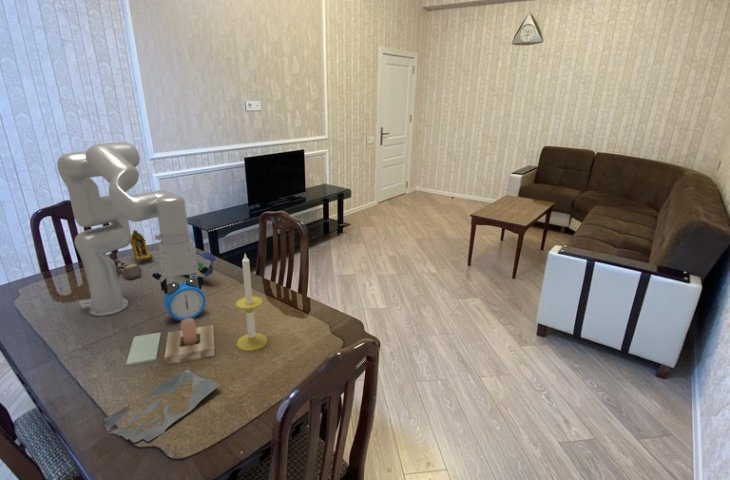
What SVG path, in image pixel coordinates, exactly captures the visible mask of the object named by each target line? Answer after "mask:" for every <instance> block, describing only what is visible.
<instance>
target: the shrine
mask: <svg viewBox="0 0 730 480" xmlns="http://www.w3.org/2000/svg"><path fill="white" fill-rule="evenodd" d="M130 246H131V248H132V252H133V254H134V256H135V257H134V258H135V262H138V261H139V262H140V261H146V260H152V259H154V256H153V255H152V254H150V253H149V250H148V247H147V243H146V239H145V238H144V235H142V234H141V233H140V232H138V230H135V229H133V230H132V233H131V242H130Z"/></svg>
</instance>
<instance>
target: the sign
mask: <svg viewBox="0 0 730 480" xmlns="http://www.w3.org/2000/svg"><path fill="white" fill-rule="evenodd" d="M196 254H197V257H201V258H204V259H207V260H210V261H211V264H210V266H209V268H208V271H207V272H206V273H205V274H204V275H203V279H204V278H205V277H209V276H211V275H213V273H214V267H213V263H214V262H215V261H216V260H217V259H216V258H215V256H214V255H213V254H212V253H210V252H207V251H204V252H198V251H196ZM204 266H205V264H203V263H200V262H198V267H199V268H200V269H202V268H203V267H204ZM186 276H189V277H188V278H196V279H197V280H198V275H197V274H196V273H193V274H187V275H186Z"/></svg>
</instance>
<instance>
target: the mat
mask: <svg viewBox="0 0 730 480" xmlns="http://www.w3.org/2000/svg"><path fill="white" fill-rule="evenodd" d="M161 336H162V333H161V332H156V333H155V332H154V333H148V334H141V335H136V336H134V337H133V339H132V343H131V345H130V349H129V353H128V357H127V360H126V363H125V364H126V367H128V366H133V365H140V364H144V363H149V362H150V363H151V362H155V361H157V358H158V352H159V346H160V341H161Z"/></svg>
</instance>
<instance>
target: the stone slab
mask: <svg viewBox="0 0 730 480" xmlns="http://www.w3.org/2000/svg"><path fill="white" fill-rule="evenodd" d="M189 381H192V384H191V390H192V392H191V396H190V399H189V401H188V404H189V407H188V409H187V410H185V411H184V412H181V413H172V412H171V408H172V407H171V404H172V403H171V402H169V403H167V404H166V406H165V407H163V416H164V422H162V421H161V419H162V416H161V415H159V416H158V417H156V418H154V419H152V420H151V421H149V423H148V424H146V425H143V426H139V427H136V428H134V429H127V428H123V427H124V426H125V424H123V425H121V426H120V427H118V428H115V429H114V430H112V431H110V430H111V428H112V427H113V426H114V425H116V424H117V423H118V422H120V421H123V419H124V417H125V416H126V415H127V413H128V411H130V410H131V408H130V406H133V405H134V404H137V403H138V402H134V403H132V404H129V405H126V407H124V408H122V409H119V410H118V411H115V412H114V413H112V414H110V415H109V416H106V418H104V419H103V423H102V426H103V427H104V428H105V429H106V430H107V432H109V433H110V434H114V435H117V436H118V437H123V438H124V439H125V440H130V441H131V442H132V443H138V442H140V441H141V440H144V441H146V442H150V441H152V440H153V439H155V438H157V437H158V436H161V435H163V433H165V431H166V429H168V428H169V427H170V426H171V425H173V424H174V423H175V422H176V421H178V420H179V419H181V418H182V417H184V416H185V415H187V414H188V413H190V412H192V410H193V409H195V408H196V407H197V405H198V404H199V403H200V402H201V401H202V400H204V399H205V398H206V397H207V396H208V395H209V394H211V393H212V392H213V391H214V390H216V389H217V388H218V387H220V385H221V384H220V383H218V382H216V381H215V380H213V379H210V378H204V377H199V375H196V374H195V373H193V372H192V371H190V370H187V369H186V370H184V371H182V372H180V373H177V374H175V375H173V376H172V377H169V378H168V379H166V380H164V381H162V382H161V383H160V384H159V385H157V386H156V387H155V388H153V389H152V390H151V391H149V392H148V393H147V394H146V396H149V395H151V396H155V395H163V394H165V395H166V394H167V395H170V394H174V393H176V392H177V391H178V388H179V386H181V385H182V384H183V383H185V382H189ZM149 401H150V399H149V398H148V399H146V400H145V401H144V402H143V404H145V403H148V402H149ZM162 401H163V398H162V397H161V398H159V399H158V400H156V401H155V402H153V403H151V404H149V405H148V406H147V408H146V409H145V410H143V412H141V413H138V414H134V415H132V416H131V418H130V419H129V420H128V421H127V422H126V424H129V423H131V422H133V421H136V420H139V418H141V417H144V416H146V415H148V414H151V413H154V411H156V410H157V409H158V408H159V407H160V406H161V403H162ZM151 425H154V426H153V427H150V426H151ZM147 427H150V428H149V429H148V428H147ZM121 428H122V429H121ZM144 428H147V430H145V431H142V430H143V429H144Z"/></svg>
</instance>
